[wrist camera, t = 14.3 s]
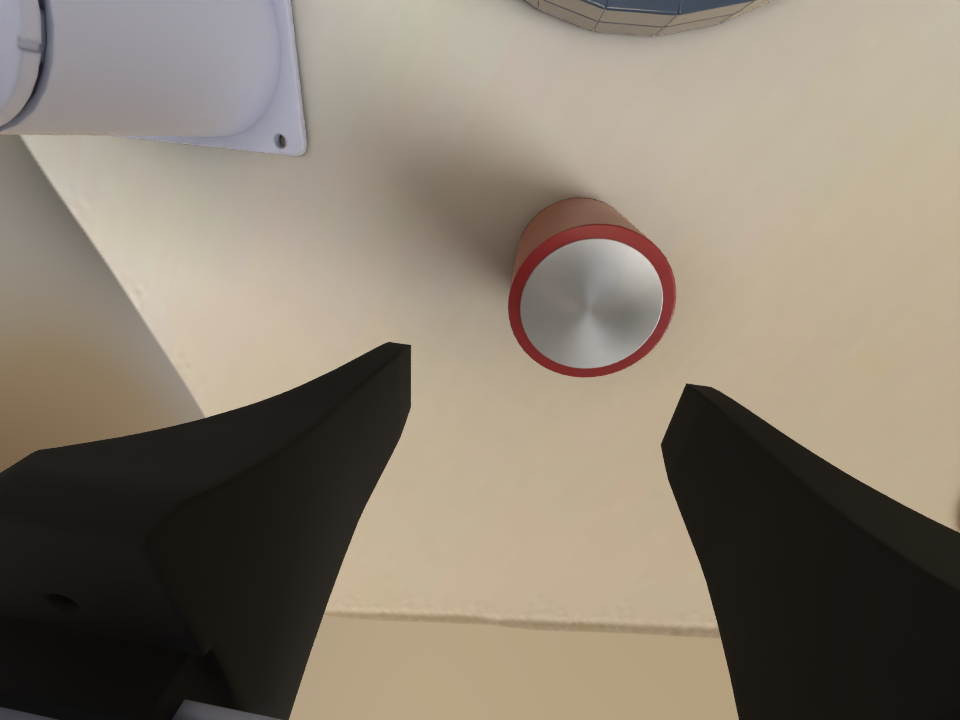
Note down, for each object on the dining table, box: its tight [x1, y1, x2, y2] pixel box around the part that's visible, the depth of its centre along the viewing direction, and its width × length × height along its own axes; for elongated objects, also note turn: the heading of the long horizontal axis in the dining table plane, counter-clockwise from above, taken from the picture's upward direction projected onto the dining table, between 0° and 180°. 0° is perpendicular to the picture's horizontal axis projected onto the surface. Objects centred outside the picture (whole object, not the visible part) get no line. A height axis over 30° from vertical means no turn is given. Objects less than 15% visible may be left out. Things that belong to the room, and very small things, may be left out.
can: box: [508, 198, 676, 377], centre depth 15 cm, size 5×5×6 cm
